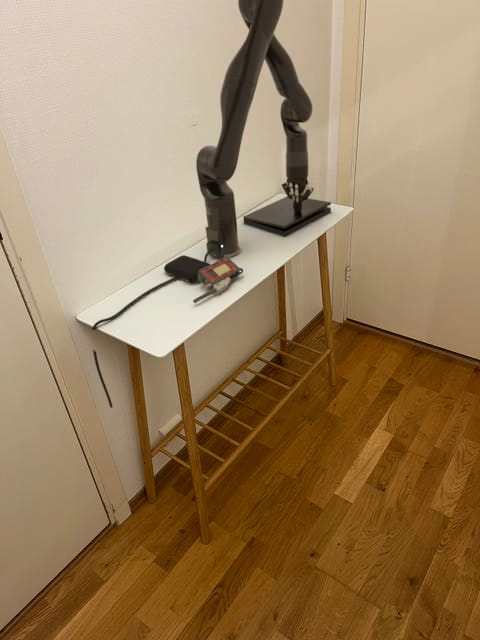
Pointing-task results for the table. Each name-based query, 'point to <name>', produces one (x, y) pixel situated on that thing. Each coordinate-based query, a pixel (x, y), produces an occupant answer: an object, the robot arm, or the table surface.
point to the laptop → (292, 227)
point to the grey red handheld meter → (218, 276)
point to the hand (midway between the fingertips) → (297, 211)
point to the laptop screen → (285, 212)
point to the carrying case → (185, 268)
